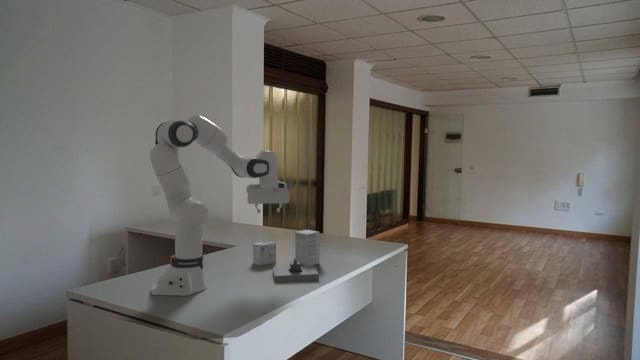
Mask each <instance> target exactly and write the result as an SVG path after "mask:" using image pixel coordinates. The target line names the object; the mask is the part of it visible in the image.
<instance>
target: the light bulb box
mask: <svg viewBox="0 0 640 360" xmlns="http://www.w3.org/2000/svg"><path fill="white" fill-rule="evenodd" d="M252 260H253V261H252V263H253V264H254V265H256V266H260V267H261V266H266V265H269V264H274V263H277V242H275V241H271V240H265V241H260V242H255V243H252Z"/></svg>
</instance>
